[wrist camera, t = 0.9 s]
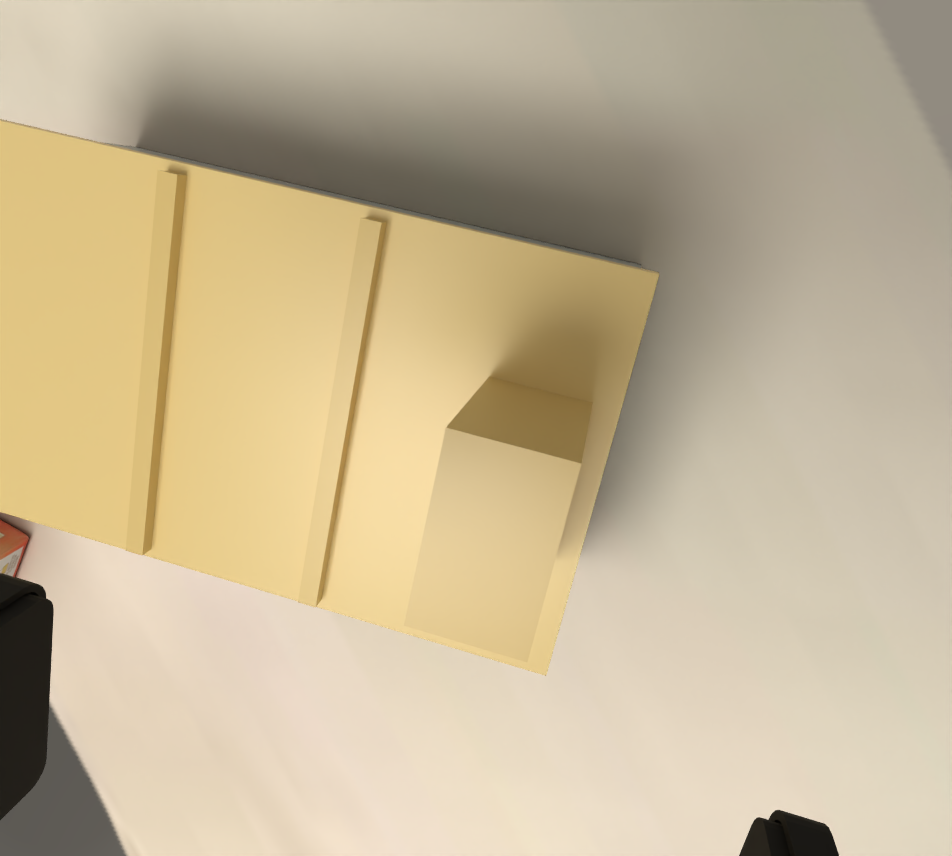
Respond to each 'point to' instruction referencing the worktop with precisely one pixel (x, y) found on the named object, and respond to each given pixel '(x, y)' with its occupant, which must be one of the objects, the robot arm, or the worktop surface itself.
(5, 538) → the cracker box
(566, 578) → the lid
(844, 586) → the worktop surface
